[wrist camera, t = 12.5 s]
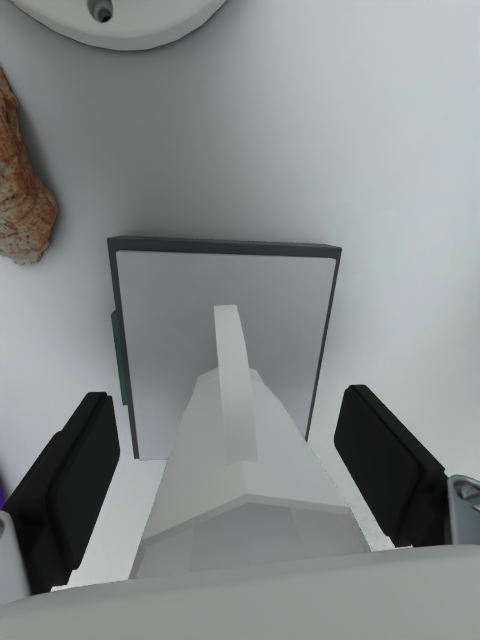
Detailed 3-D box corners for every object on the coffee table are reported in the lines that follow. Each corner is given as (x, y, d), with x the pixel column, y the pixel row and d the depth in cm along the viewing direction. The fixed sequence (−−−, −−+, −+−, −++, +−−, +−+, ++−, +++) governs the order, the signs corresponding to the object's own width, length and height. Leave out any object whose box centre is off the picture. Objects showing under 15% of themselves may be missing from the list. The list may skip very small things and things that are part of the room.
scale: (112, 234, 13) (91, 238, 11) (325, 244, 15) (348, 249, 12) (135, 434, 18) (124, 468, 15) (296, 427, 19) (309, 456, 17)
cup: (174, 453, 15) (143, 672, 8) (142, 288, 12) (29, 406, 4) (290, 437, 16) (363, 627, 9) (293, 276, 12) (424, 360, 5)
